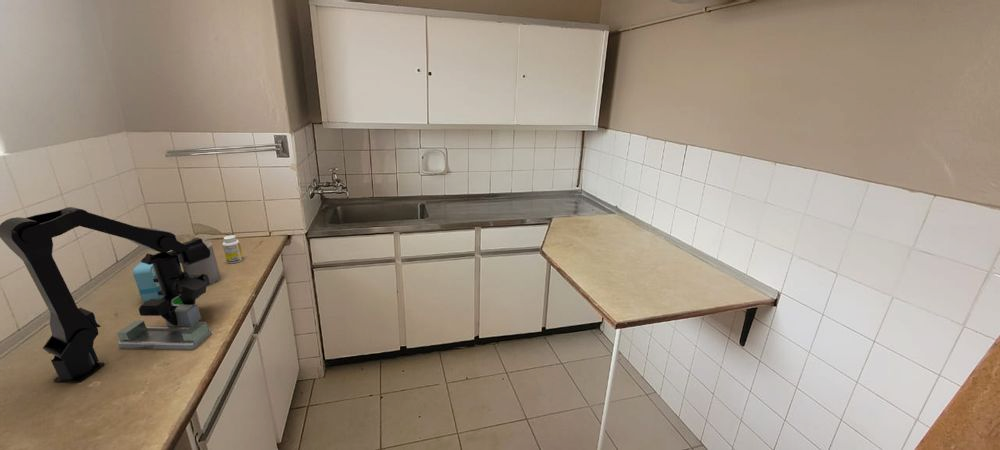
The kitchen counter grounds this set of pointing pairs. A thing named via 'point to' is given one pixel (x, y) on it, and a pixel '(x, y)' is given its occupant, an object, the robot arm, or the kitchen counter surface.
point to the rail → (162, 336)
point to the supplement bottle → (232, 249)
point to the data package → (146, 282)
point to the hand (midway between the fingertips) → (183, 319)
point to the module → (186, 315)
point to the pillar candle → (205, 266)
